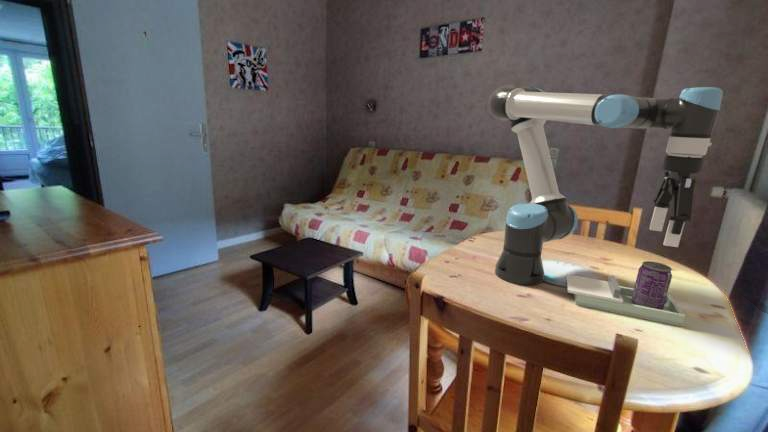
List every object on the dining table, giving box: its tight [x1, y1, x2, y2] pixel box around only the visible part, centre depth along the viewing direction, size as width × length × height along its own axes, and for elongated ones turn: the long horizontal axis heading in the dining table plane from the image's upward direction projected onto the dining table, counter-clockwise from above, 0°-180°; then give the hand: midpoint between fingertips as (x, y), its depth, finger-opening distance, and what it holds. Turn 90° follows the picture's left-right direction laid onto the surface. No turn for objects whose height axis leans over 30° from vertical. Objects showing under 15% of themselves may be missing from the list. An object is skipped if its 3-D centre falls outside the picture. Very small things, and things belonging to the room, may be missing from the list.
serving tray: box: [573, 285, 686, 328], centre depth 96 cm, size 24×12×3 cm, turn 65°
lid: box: [565, 273, 623, 303], centre depth 99 cm, size 13×12×3 cm
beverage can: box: [632, 260, 673, 310], centre depth 93 cm, size 7×7×12 cm
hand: (662, 237), depth 89 cm, fingers open, 13 cm apart
